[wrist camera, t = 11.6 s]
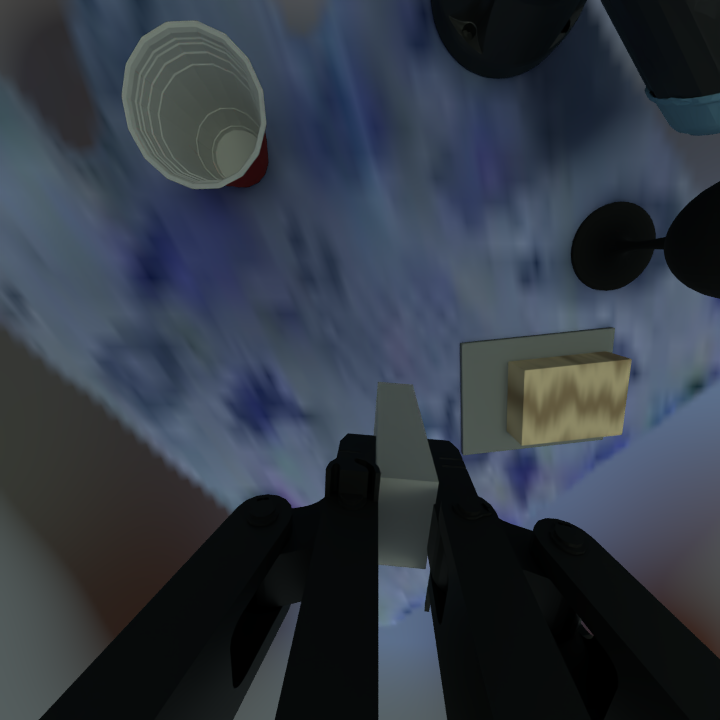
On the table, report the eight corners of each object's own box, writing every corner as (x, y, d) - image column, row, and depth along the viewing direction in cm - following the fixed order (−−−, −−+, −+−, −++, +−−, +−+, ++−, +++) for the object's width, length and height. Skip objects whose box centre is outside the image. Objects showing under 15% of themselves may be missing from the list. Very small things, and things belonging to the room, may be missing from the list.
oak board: (524, 370, 39) (631, 359, 40) (508, 361, 43) (605, 351, 43) (521, 445, 42) (621, 434, 42) (506, 431, 46) (598, 420, 46)
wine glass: (570, 297, 42) (764, 319, 23) (570, 209, 39) (790, 150, 20) (650, 282, 42) (912, 293, 23) (656, 194, 39) (959, 120, 20)
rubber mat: (460, 343, 43) (461, 343, 42) (611, 327, 43) (614, 328, 43) (461, 452, 47) (463, 455, 46) (599, 437, 47) (602, 439, 47)
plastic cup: (167, 145, 35) (82, 84, 24) (245, 78, 34) (196, -21, 23) (235, 233, 38) (188, 217, 26) (310, 174, 37) (295, 129, 25)
